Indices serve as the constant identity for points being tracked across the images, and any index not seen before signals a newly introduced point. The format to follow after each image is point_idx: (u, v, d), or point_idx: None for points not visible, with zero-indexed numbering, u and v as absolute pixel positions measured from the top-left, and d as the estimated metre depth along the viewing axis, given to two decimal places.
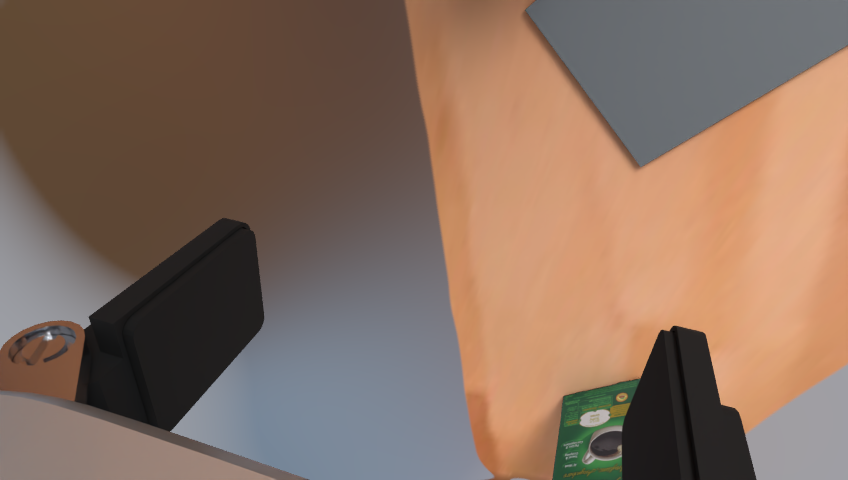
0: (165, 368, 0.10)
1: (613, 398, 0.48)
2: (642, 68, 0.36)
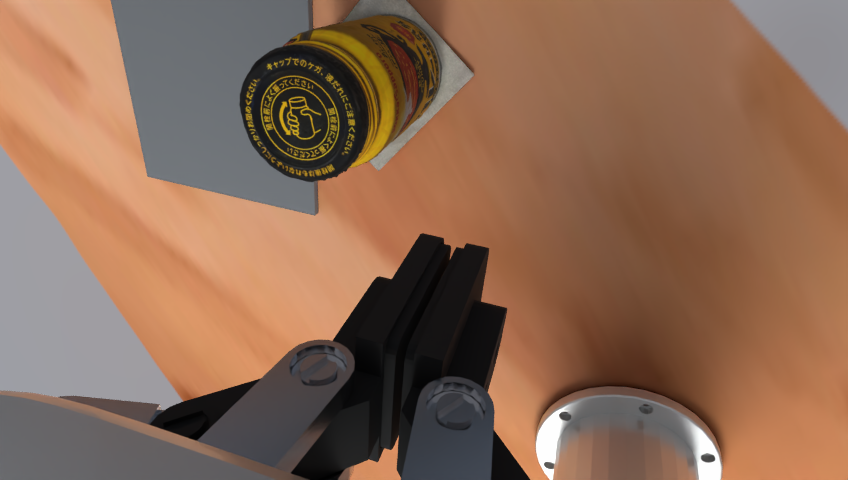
0: (401, 385, 0.10)
1: None
2: None
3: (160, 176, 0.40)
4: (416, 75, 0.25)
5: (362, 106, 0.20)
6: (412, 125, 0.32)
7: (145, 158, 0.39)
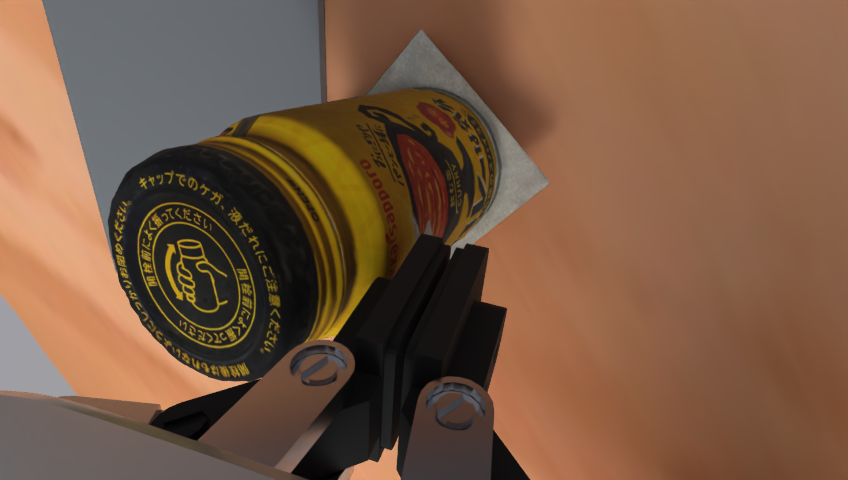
0: (401, 385, 0.10)
1: None
2: None
3: None
4: (446, 188, 0.15)
5: (299, 271, 0.10)
6: (453, 243, 0.22)
7: None
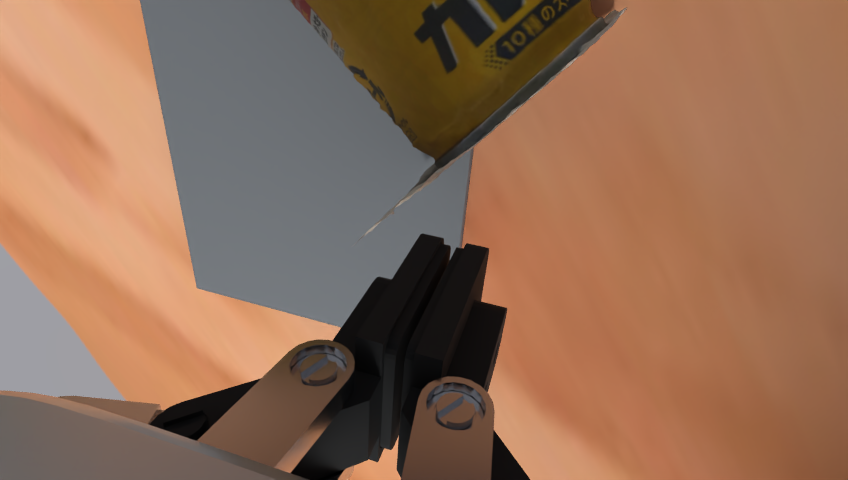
0: (401, 385, 0.10)
1: None
2: None
3: (216, 289, 0.28)
4: None
5: None
6: (458, 157, 0.13)
7: (194, 265, 0.28)
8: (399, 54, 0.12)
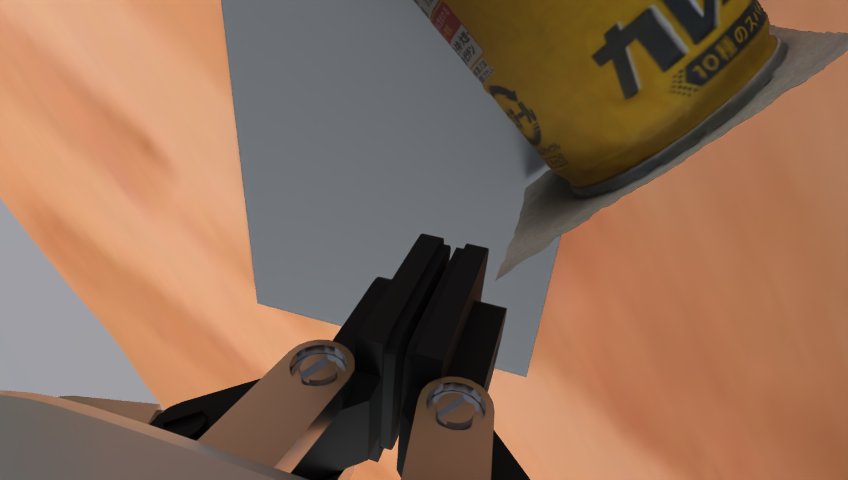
0: (401, 385, 0.10)
1: None
2: None
3: (278, 304, 0.27)
4: None
5: None
6: (627, 189, 0.12)
7: (257, 280, 0.27)
8: (571, 78, 0.11)
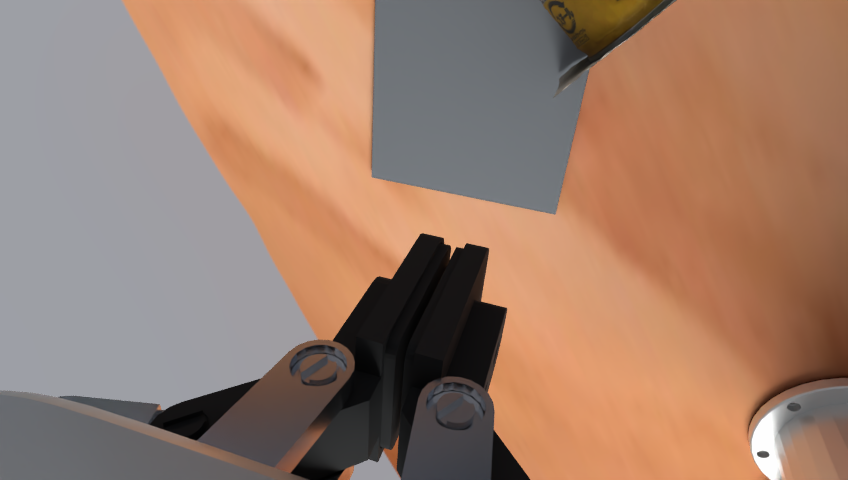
0: (401, 385, 0.10)
1: None
2: None
3: (387, 176, 0.40)
4: None
5: None
6: None
7: (374, 159, 0.40)
8: None
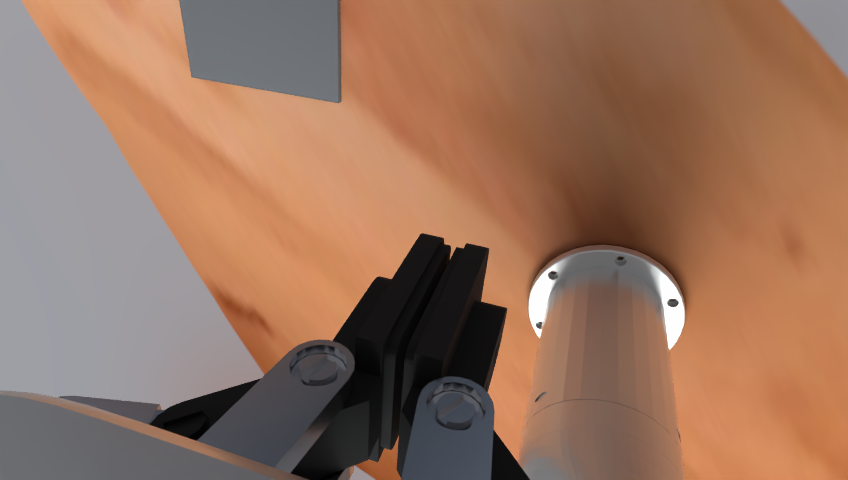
0: (401, 385, 0.10)
1: None
2: None
3: (203, 76, 0.46)
4: None
5: None
6: None
7: (190, 59, 0.45)
8: None
